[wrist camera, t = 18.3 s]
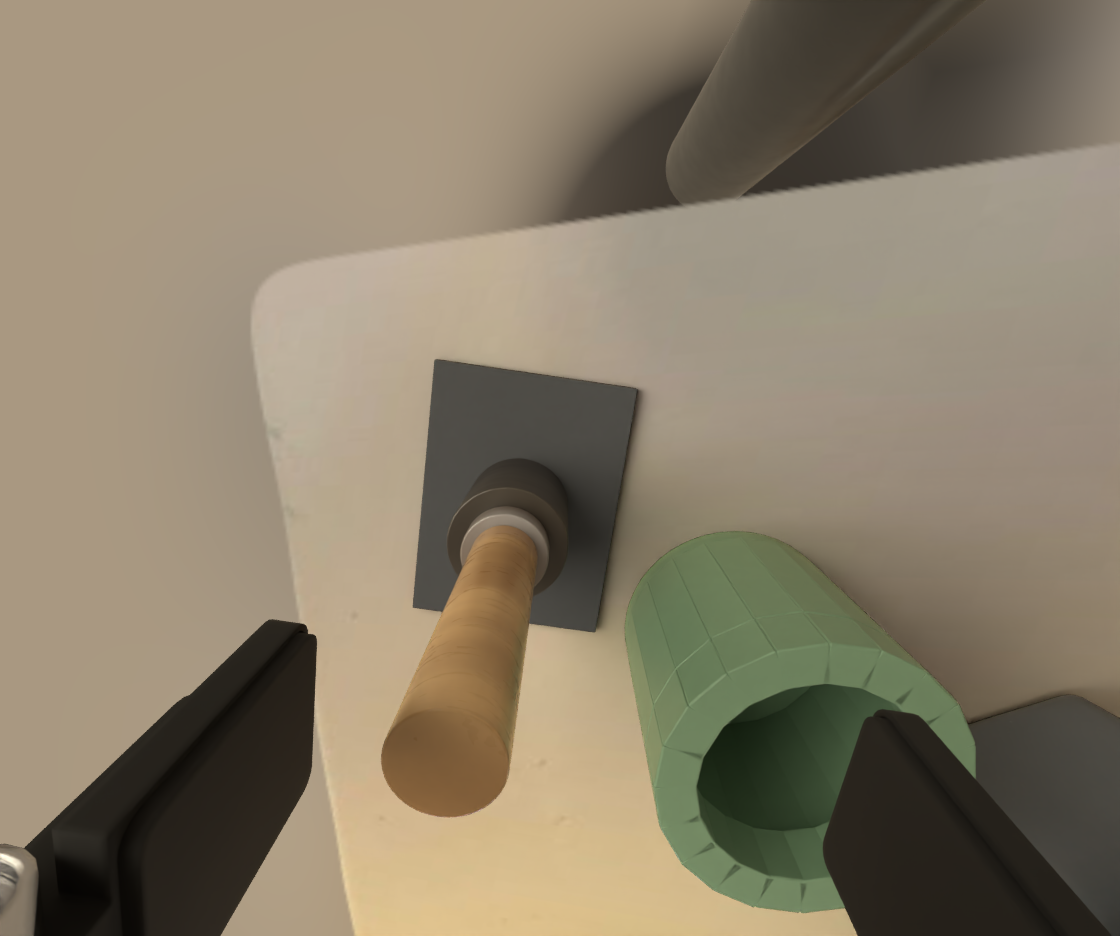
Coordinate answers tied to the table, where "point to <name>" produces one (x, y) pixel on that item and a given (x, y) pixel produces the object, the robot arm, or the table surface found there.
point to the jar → (762, 710)
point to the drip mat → (535, 434)
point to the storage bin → (1061, 791)
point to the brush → (479, 643)
